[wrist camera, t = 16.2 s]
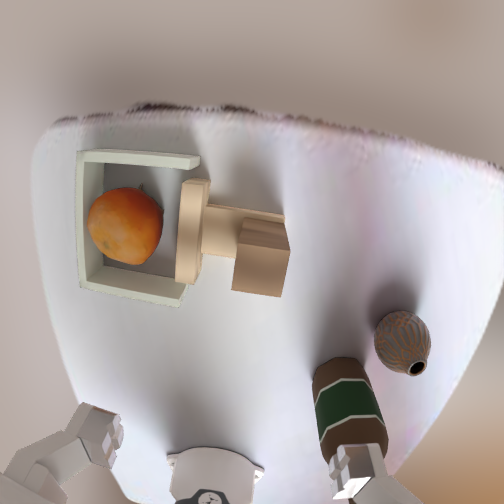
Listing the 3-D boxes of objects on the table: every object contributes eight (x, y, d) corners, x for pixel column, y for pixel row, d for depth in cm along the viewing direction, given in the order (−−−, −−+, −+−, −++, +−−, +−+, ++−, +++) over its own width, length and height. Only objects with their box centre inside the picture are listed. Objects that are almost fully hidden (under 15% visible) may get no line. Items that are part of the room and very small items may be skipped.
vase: (363, 315, 36) (384, 359, 28) (412, 294, 35) (443, 333, 27) (373, 353, 38) (392, 399, 30) (418, 334, 37) (444, 375, 29)
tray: (188, 288, 36) (178, 308, 31) (97, 271, 35) (79, 287, 31) (200, 156, 30) (190, 158, 26) (98, 148, 30) (76, 151, 26)
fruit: (193, 203, 31) (147, 256, 25) (166, 238, 36) (127, 286, 31) (135, 153, 29) (80, 197, 24) (117, 196, 35) (73, 238, 30)
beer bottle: (315, 399, 41) (334, 549, 19) (306, 362, 39) (327, 534, 16) (366, 386, 40) (408, 530, 18) (363, 348, 38) (419, 509, 15)
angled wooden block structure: (272, 280, 35) (273, 327, 26) (183, 266, 35) (158, 308, 26) (288, 191, 31) (298, 212, 23) (192, 177, 31) (163, 193, 22)
